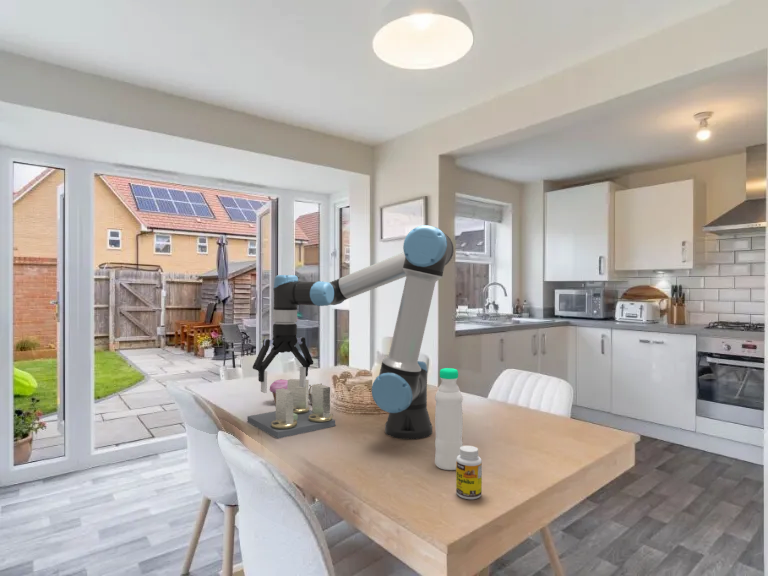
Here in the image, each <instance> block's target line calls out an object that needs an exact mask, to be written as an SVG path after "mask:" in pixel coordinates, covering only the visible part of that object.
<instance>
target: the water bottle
mask: <svg viewBox="0 0 768 576" xmlns="http://www.w3.org/2000/svg"><path fill="white" fill-rule="evenodd" d="M439 379H440V381H441V383H440V384H439V386H438V389H437V391H436V393H435V397H434V400H435V410H434V411H435V412H434V413H435V414H434V417H435V418H434V425H435V430H434V432H435V438H434V439H435V441H434V447H435V453H434V454H435V455H434V465H436V467H437V468H439V469H441V470H445V471H456V458H457V456H458V455H460V447H462V446H463V439H462V437H463V404H462V403H463V400H464V398H463V394H462V392H461V390H460V387H459V385H458V384H457V380H458V379H459V370H458V369H456V368H452V367H444V368H441V369H440V370H439Z"/></svg>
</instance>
